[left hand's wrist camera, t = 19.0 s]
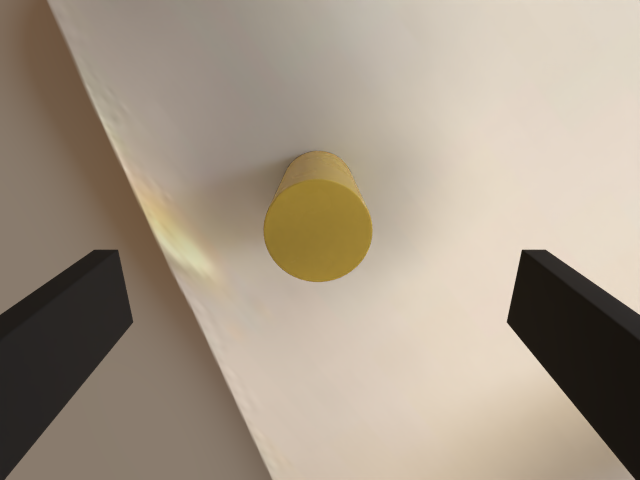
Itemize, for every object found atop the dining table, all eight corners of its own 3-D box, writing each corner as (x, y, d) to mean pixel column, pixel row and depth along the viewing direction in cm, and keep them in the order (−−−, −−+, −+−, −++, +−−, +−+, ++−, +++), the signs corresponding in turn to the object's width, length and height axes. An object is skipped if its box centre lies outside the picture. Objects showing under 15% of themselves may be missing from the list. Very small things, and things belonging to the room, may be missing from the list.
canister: (279, 152, 28) (257, 182, 18) (352, 149, 28) (372, 176, 18) (285, 222, 30) (268, 284, 20) (353, 218, 30) (372, 280, 20)
